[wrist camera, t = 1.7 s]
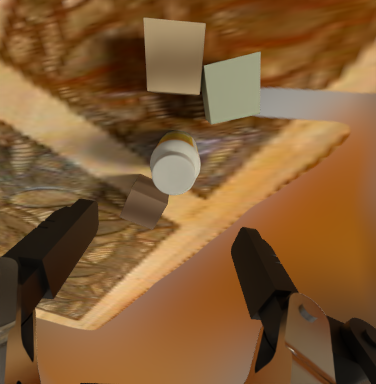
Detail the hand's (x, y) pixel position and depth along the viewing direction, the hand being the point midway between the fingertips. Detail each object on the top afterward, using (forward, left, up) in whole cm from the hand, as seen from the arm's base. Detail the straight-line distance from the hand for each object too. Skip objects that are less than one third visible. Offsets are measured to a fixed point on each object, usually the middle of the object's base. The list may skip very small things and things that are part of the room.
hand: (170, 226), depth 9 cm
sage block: (-8, +4, -16) cm, 19 cm away
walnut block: (+8, -3, -16) cm, 18 cm away
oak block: (-9, -2, -16) cm, 19 cm away
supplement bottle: (0, 0, -16) cm, 16 cm away
